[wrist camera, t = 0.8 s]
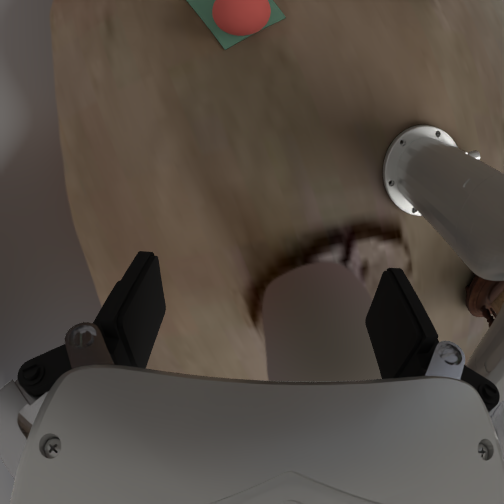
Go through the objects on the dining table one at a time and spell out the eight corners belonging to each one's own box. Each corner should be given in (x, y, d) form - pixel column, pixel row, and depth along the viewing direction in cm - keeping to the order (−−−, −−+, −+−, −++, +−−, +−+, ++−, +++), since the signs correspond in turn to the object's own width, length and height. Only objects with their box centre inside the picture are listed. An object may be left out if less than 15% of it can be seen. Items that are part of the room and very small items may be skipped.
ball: (258, -11, 23) (256, -28, 18) (278, 29, 26) (280, 18, 20) (209, 7, 24) (198, -7, 19) (228, 47, 27) (220, 39, 22)
